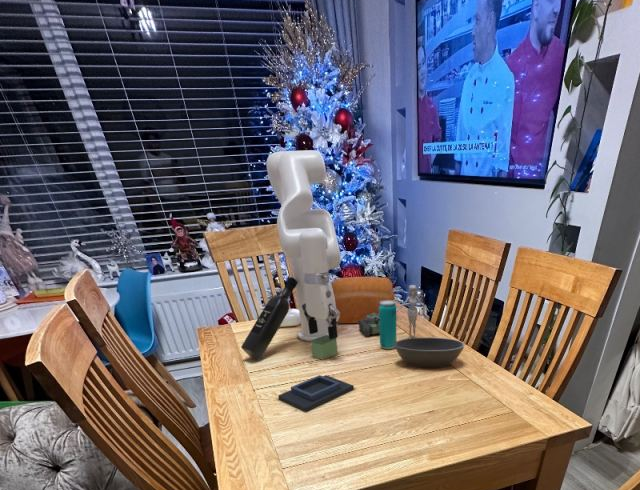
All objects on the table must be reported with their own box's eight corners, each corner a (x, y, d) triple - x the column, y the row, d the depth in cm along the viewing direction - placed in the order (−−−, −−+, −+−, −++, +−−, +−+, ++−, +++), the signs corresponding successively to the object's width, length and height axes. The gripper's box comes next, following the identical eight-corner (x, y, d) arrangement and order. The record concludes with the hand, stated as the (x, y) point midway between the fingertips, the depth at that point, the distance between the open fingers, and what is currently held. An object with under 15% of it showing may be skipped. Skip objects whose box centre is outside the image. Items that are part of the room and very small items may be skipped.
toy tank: (383, 325, 169) (382, 307, 165) (392, 335, 160) (392, 316, 156) (358, 329, 167) (356, 310, 163) (365, 338, 158) (364, 319, 154)
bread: (394, 323, 171) (394, 280, 161) (329, 324, 172) (325, 282, 162) (395, 313, 182) (394, 272, 172) (333, 314, 183) (330, 274, 173)
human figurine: (396, 341, 155) (395, 287, 144) (395, 337, 158) (394, 284, 147) (429, 339, 156) (431, 285, 144) (427, 336, 159) (429, 283, 147)
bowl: (463, 371, 132) (465, 351, 129) (392, 370, 135) (392, 350, 131) (462, 356, 142) (464, 337, 138) (396, 355, 144) (396, 337, 140)
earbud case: (271, 321, 178) (269, 308, 174) (303, 319, 179) (301, 306, 175) (269, 329, 170) (267, 315, 166) (302, 327, 171) (300, 313, 167)
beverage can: (399, 345, 152) (398, 300, 142) (392, 351, 148) (391, 305, 138) (384, 343, 154) (383, 299, 144) (377, 348, 150) (375, 303, 140)
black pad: (326, 378, 131) (325, 369, 129) (353, 389, 125) (353, 380, 123) (278, 399, 121) (276, 390, 119) (306, 411, 114) (304, 402, 113)
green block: (328, 350, 150) (326, 334, 146) (337, 353, 147) (336, 337, 144) (312, 356, 146) (310, 340, 142) (322, 359, 143) (320, 343, 140)
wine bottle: (251, 350, 139) (295, 275, 143) (239, 346, 141) (283, 272, 145) (261, 360, 144) (304, 287, 148) (249, 356, 147) (292, 285, 150)
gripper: (345, 279, 129) (349, 337, 139) (308, 273, 138) (315, 328, 148) (326, 283, 124) (332, 343, 135) (289, 277, 134) (298, 333, 144)
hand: (323, 335), depth 142 cm, fingers open, 9 cm apart
